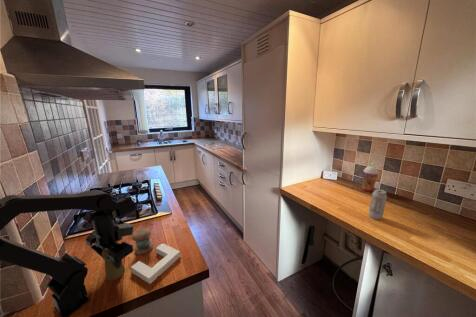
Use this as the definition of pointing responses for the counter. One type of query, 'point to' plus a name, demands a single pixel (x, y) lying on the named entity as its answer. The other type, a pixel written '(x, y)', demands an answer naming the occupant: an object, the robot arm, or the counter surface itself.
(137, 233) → the brown spool-shaped piece
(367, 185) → the smoothie
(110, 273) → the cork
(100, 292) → the counter surface
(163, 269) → the notched board
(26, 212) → the robot arm
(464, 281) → the counter surface
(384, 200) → the energy drink can
